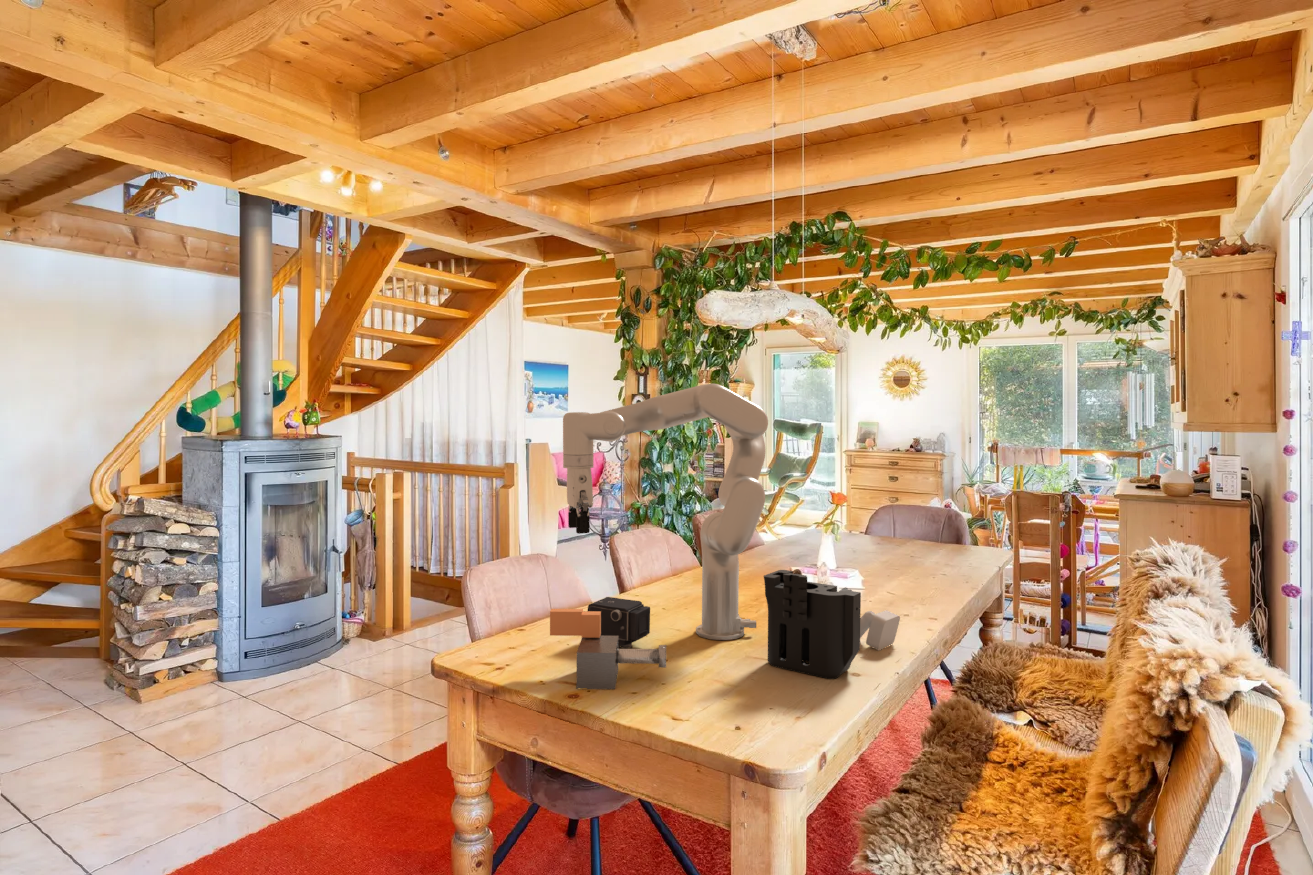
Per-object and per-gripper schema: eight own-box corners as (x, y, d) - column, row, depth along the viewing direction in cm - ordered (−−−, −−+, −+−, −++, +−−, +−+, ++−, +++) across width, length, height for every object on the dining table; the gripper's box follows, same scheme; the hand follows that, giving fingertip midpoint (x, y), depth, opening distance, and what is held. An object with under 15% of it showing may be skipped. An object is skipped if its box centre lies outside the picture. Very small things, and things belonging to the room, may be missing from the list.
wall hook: (856, 633, 191) (864, 597, 189) (891, 651, 184) (901, 614, 182) (839, 639, 185) (848, 603, 183) (875, 658, 178) (885, 621, 176)
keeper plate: (600, 633, 164) (600, 608, 164) (599, 637, 161) (599, 612, 161) (551, 633, 164) (551, 608, 164) (549, 637, 161) (549, 611, 161)
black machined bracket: (780, 654, 176) (781, 562, 175) (864, 672, 163) (865, 573, 163) (756, 667, 166) (757, 570, 166) (843, 687, 154) (845, 583, 153)
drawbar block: (618, 669, 164) (618, 635, 164) (615, 689, 152) (615, 652, 152) (582, 669, 164) (582, 635, 164) (576, 688, 152) (576, 652, 152)
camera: (583, 650, 180) (636, 654, 173) (579, 604, 181) (632, 606, 174) (606, 639, 190) (657, 641, 183) (603, 595, 190) (653, 596, 183)
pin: (666, 663, 160) (666, 642, 160) (666, 670, 156) (666, 649, 155) (594, 662, 160) (594, 641, 160) (592, 669, 156) (592, 648, 155)
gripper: (601, 463, 176) (601, 534, 176) (585, 459, 192) (586, 524, 193) (570, 464, 173) (570, 536, 174) (557, 460, 190) (557, 526, 190)
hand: (578, 530), depth 183 cm, fingers open, 9 cm apart
